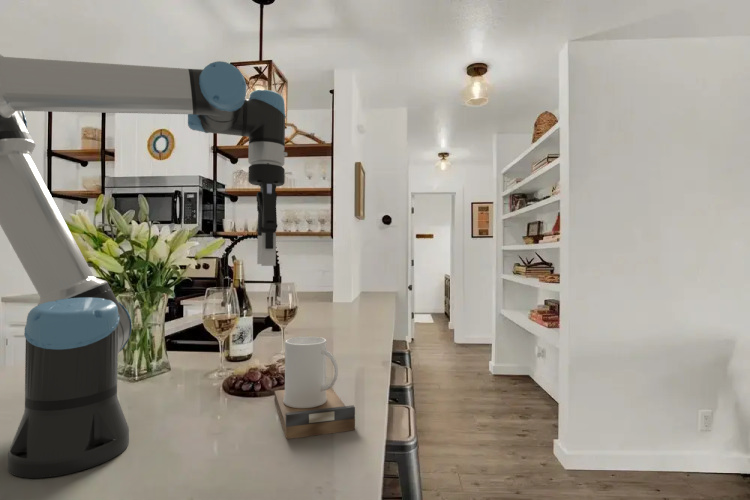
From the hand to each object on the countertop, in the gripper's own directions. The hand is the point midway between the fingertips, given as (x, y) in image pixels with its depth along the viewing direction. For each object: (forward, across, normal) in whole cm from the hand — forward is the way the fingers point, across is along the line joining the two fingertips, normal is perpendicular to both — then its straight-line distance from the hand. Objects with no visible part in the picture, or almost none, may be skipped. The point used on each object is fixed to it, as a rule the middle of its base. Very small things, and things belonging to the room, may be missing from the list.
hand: (265, 265), depth 91 cm
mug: (+27, -11, -8) cm, 30 cm away
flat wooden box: (+29, -11, -8) cm, 32 cm away
